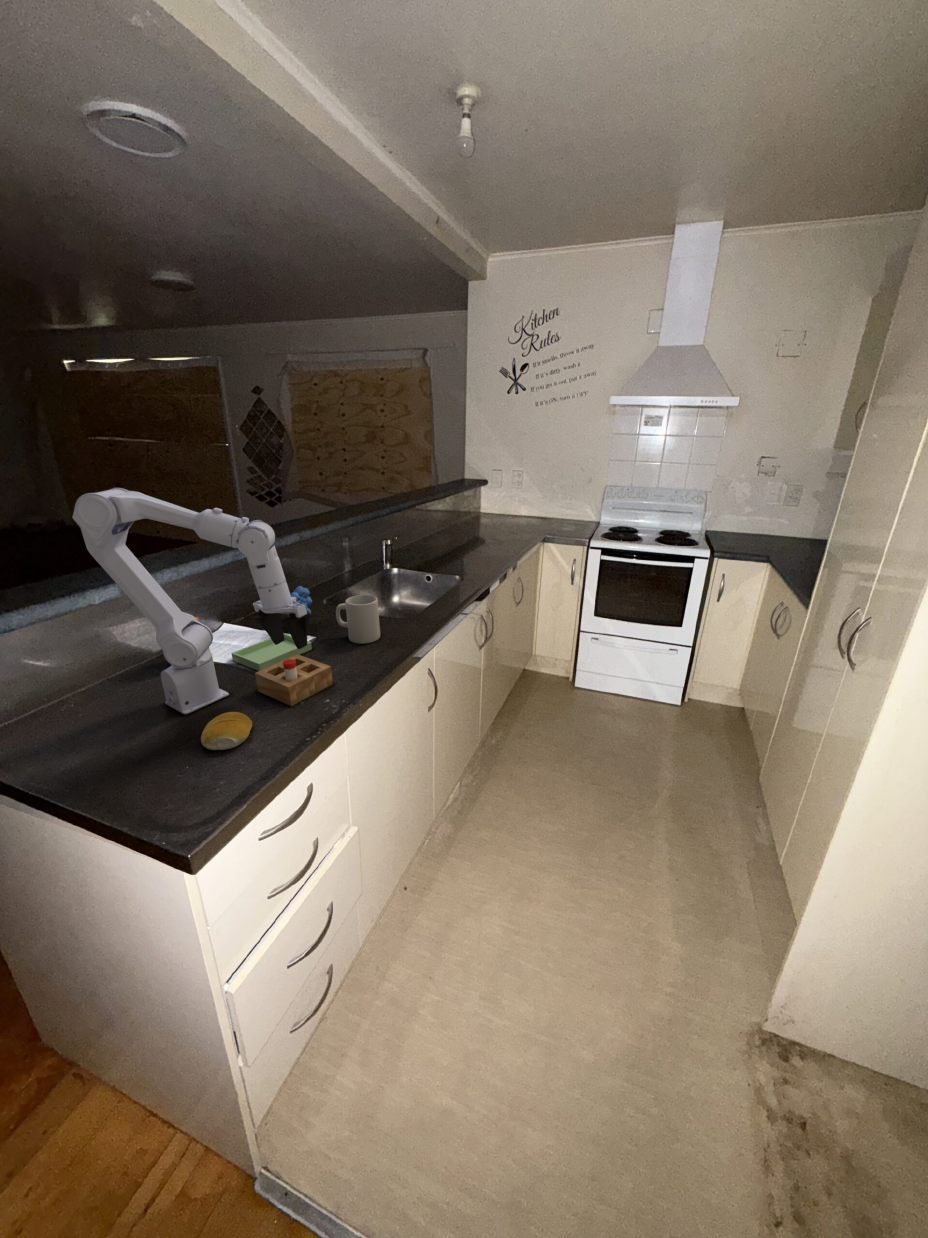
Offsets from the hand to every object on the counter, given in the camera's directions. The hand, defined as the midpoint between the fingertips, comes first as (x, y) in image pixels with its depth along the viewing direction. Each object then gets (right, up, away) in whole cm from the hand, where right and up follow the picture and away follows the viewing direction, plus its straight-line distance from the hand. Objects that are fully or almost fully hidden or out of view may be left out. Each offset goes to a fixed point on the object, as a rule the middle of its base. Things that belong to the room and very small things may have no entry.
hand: (290, 644), depth 101 cm
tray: (-12, -4, +21) cm, 25 cm away
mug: (+7, 0, +32) cm, 33 cm away
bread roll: (-7, -17, -12) cm, 22 cm away
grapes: (-12, +3, +39) cm, 41 cm away
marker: (0, -11, +2) cm, 11 cm away
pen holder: (-1, -10, +5) cm, 11 cm away
